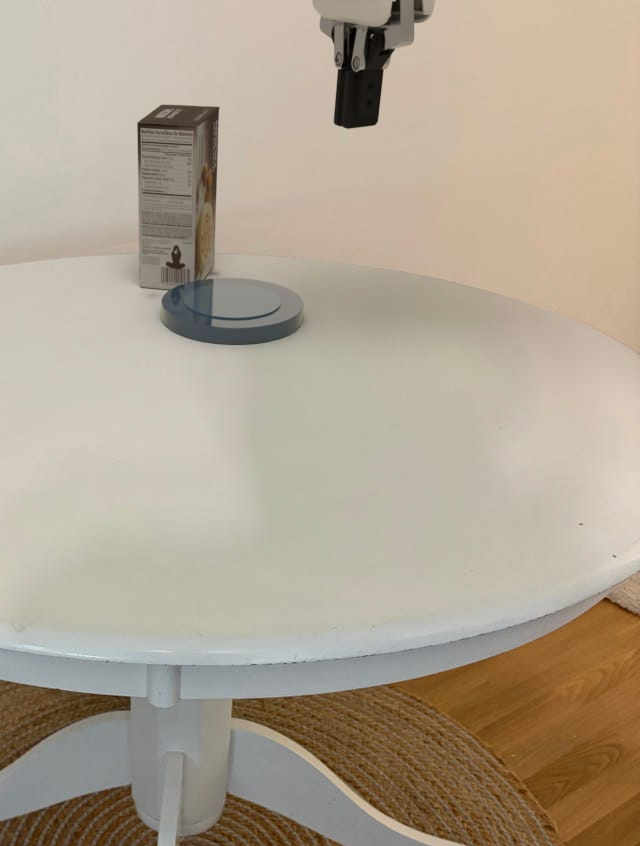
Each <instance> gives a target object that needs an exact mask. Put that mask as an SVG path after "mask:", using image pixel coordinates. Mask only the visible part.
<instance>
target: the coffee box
mask: <svg viewBox="0 0 640 846" xmlns="http://www.w3.org/2000/svg"><path fill="white" fill-rule="evenodd" d="M219 118H220V107H219V106H209V105H208V106H207V105H206V106H203V105H187V104H186V105H184V104H160V105H159V106H157V107H156V108H155V109H154V110H152V111H151V112H149V113H148V114H146V115H145V116H143V118H142V119H140V120H139V121H137V123H136V125H137V126H136V127H137V132H136V133H137V190H138V191H137V192H138V195H137V196H138V247H139V248H138V249H139V250H138V251H139V252H138V253H139V254H138V257H139V258H138V259H139V260H138V261H139V286H140V287H141V288H145V289H157V290H158V289H160V290H167V291H169V290H171V289H172V288H174V287H177V286H179V285H182V284H185V283H188V282H192V281H198V280H204V279H206V277H207V276H208V274H209V273H210V272H211V270H212V269H213V267H214V266H215V252H216V251H215V249H216V218H217V185H218V157H219V156H218V153H219V124H220V123H219V122H220V121H219V120H220V119H219Z"/></svg>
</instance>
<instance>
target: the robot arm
mask: <svg viewBox="0 0 640 846" xmlns="http://www.w3.org/2000/svg"><path fill="white" fill-rule="evenodd" d="M311 1H312V6H313V9H314V10H315V11H316V13H317V14H318V15H319V16H320V18H319V29H320V31H321V32H322V33H323V34H324V35H326V36H327V37H328V38H330V39H331V41H332V44H333V46H334V47H333V54H334V55H333V62H334V66H335V67H336V68H337V77H336V87H335V88H336V89H335V101H334V112H333V113H334V114H333V124H334V125H335V126H338V127H342V128H344V129H346V130H351V129H358V128H365V127H366V128H367V127H374V126H376V125H377V124H378V122H379V116H380V108H381V99H382V89H383V81H384V70H386V69H388V68H389V66H390V63H391V58H392V54H393V53H394V52H395V50H396V49H400V48H404V47H409V46H411V45H413V43H414V40H415V24H422V23H425V22H426V21H428V20H430V18H431V17H432V15H433V13H434V10H435V3H436V0H311Z"/></svg>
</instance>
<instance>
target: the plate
mask: <svg viewBox="0 0 640 846" xmlns="http://www.w3.org/2000/svg"><path fill="white" fill-rule="evenodd" d="M304 305H305V304H304V300H303V299H302V298H301V296H300V295H299V294H298V293H297V292H295V291H293V290H291V289H290V288H289V287H288V288H287V287H285V286H282V285H280V284H277V283H273V282H270V281H265V280H261V279H260V280H259V279H252V278H243V277H216V278H215V277H214V278H204V280H198V281H192V282H188V283H185V284H182V285H179V286H177V287H174V288H172V289H171V290H167V292H165V293H164V295H163V296H162V298H161V305H160V307H161V314H160V315H161V321H162V323H163V325H164V326H165V327H166V328H167V329H169V330H170V331H171V332H174V333H175V334H177V335H179V336H182V337H184V338H186V339H187V338H188V339H191V340H195V341H199V342H204V343H211V344H218V345H251V344H262V343H267V342H271V341H276V340H281V339H283V338H286V337H288V336H290V335H291V334H293V333H294V332H296V331H297V330H298V329H299V328H300V327H301V326H302V323H303V314H304Z"/></svg>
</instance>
